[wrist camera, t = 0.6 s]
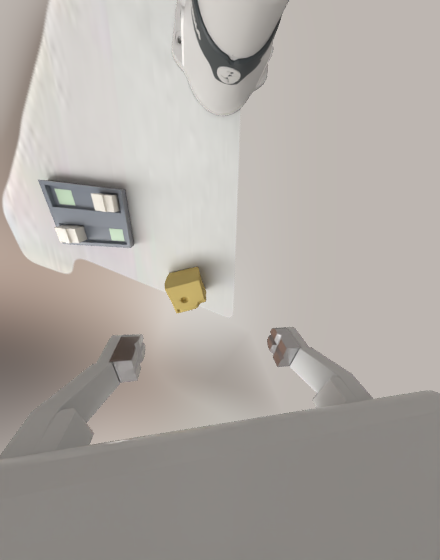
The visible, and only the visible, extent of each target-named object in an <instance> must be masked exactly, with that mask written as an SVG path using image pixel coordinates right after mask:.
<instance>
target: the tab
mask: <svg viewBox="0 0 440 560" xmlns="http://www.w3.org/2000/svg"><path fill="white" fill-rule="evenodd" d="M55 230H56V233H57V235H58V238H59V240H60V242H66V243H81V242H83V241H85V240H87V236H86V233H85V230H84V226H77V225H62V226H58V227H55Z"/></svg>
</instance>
